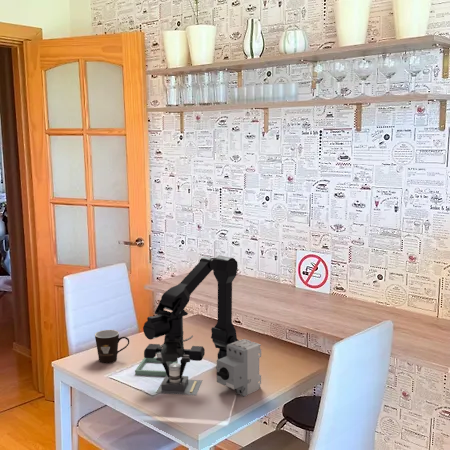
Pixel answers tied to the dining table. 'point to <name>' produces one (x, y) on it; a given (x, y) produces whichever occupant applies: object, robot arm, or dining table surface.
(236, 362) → the circuit breaker
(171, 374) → the white banded cylinder
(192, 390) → the board
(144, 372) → the parts tray
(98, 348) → the coffee mug
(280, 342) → the dining table surface
